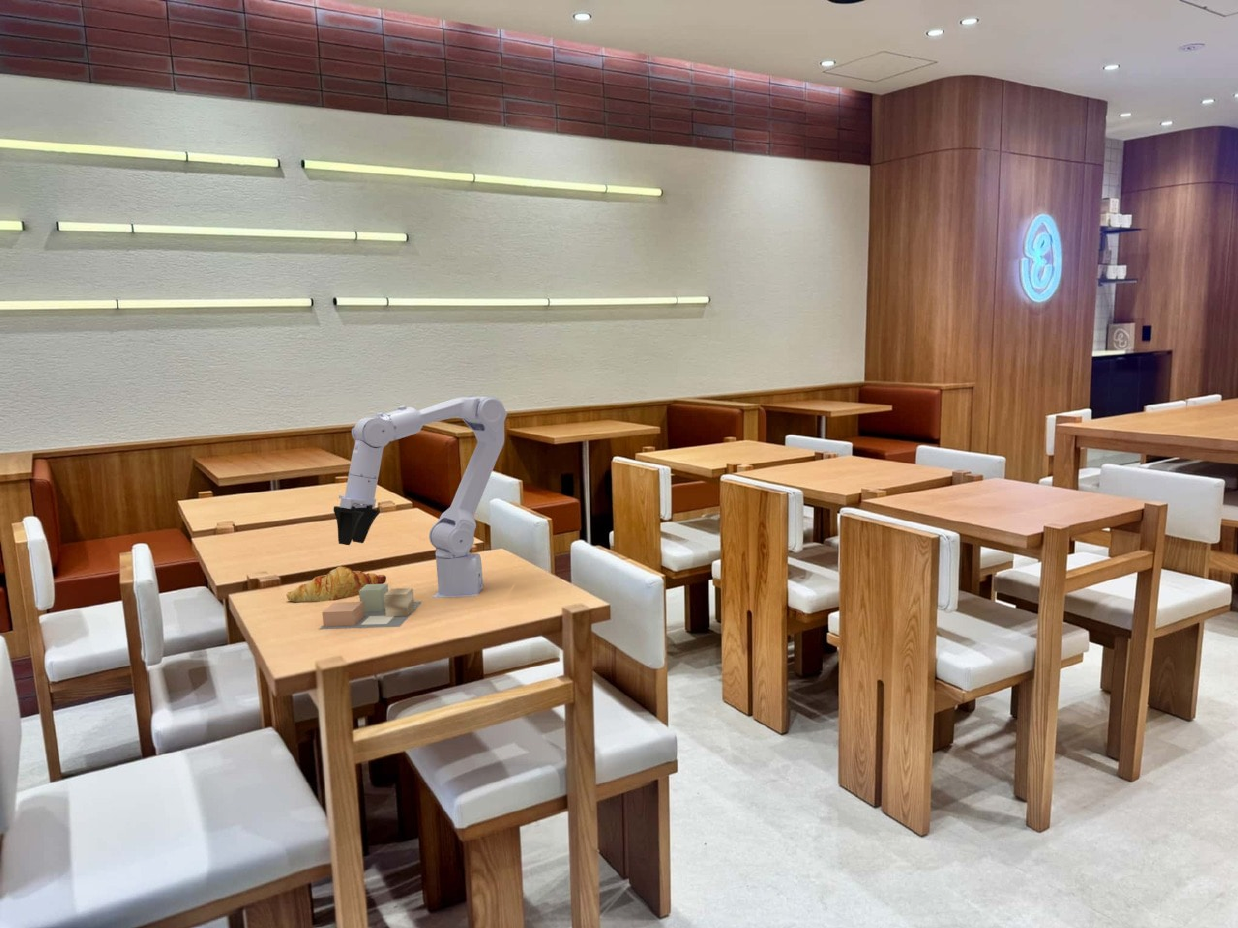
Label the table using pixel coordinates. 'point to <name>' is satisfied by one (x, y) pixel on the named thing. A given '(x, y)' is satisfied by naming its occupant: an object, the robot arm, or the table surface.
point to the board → (377, 620)
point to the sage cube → (373, 597)
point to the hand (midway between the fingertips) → (351, 543)
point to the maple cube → (399, 602)
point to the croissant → (334, 585)
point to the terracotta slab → (343, 614)
